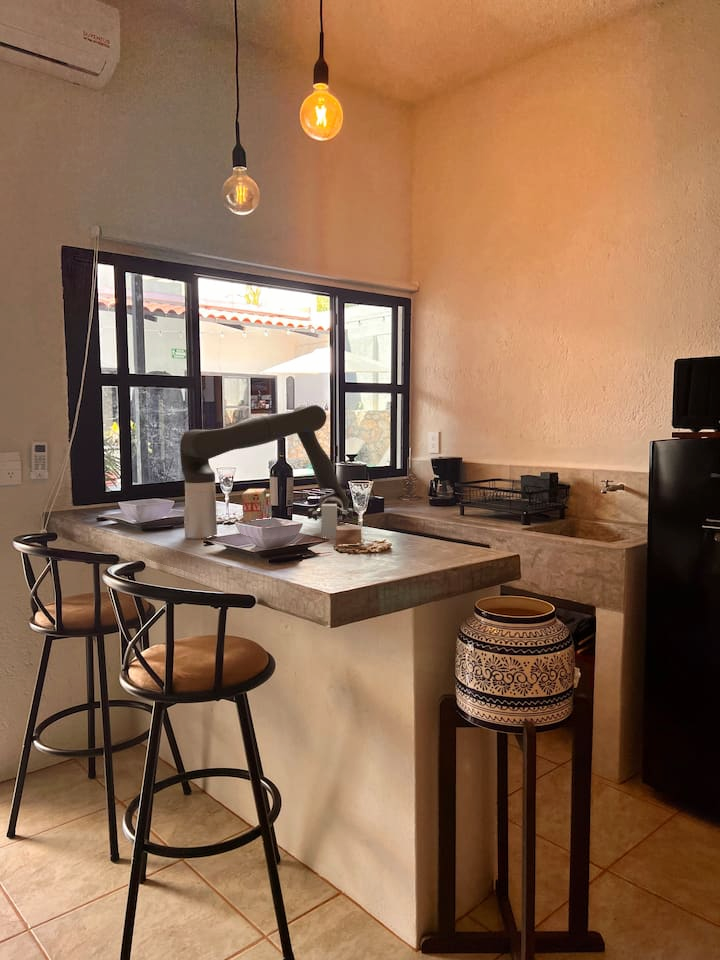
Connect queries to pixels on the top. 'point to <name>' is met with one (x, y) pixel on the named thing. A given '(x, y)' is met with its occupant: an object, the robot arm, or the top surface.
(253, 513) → the tan printed box
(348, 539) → the walnut base block
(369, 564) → the top surface
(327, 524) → the tall grey block
